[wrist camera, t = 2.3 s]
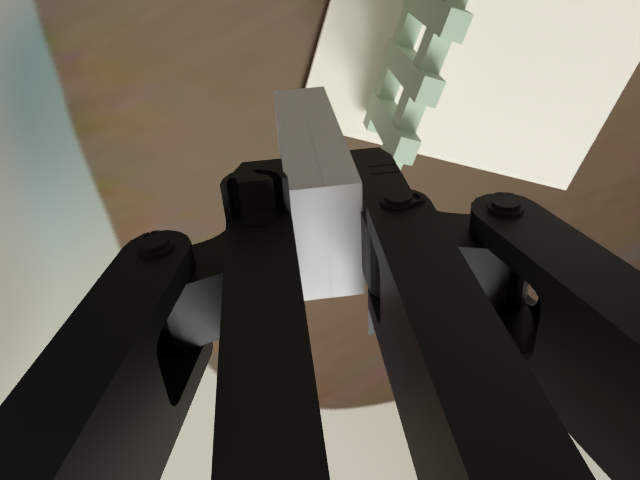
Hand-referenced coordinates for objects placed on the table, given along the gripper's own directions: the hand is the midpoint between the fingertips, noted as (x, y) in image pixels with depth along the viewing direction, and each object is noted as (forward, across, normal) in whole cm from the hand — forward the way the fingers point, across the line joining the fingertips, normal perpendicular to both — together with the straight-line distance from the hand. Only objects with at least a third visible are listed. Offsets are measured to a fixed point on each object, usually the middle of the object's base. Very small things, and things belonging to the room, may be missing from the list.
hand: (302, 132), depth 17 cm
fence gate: (+14, +6, 0) cm, 15 cm away
